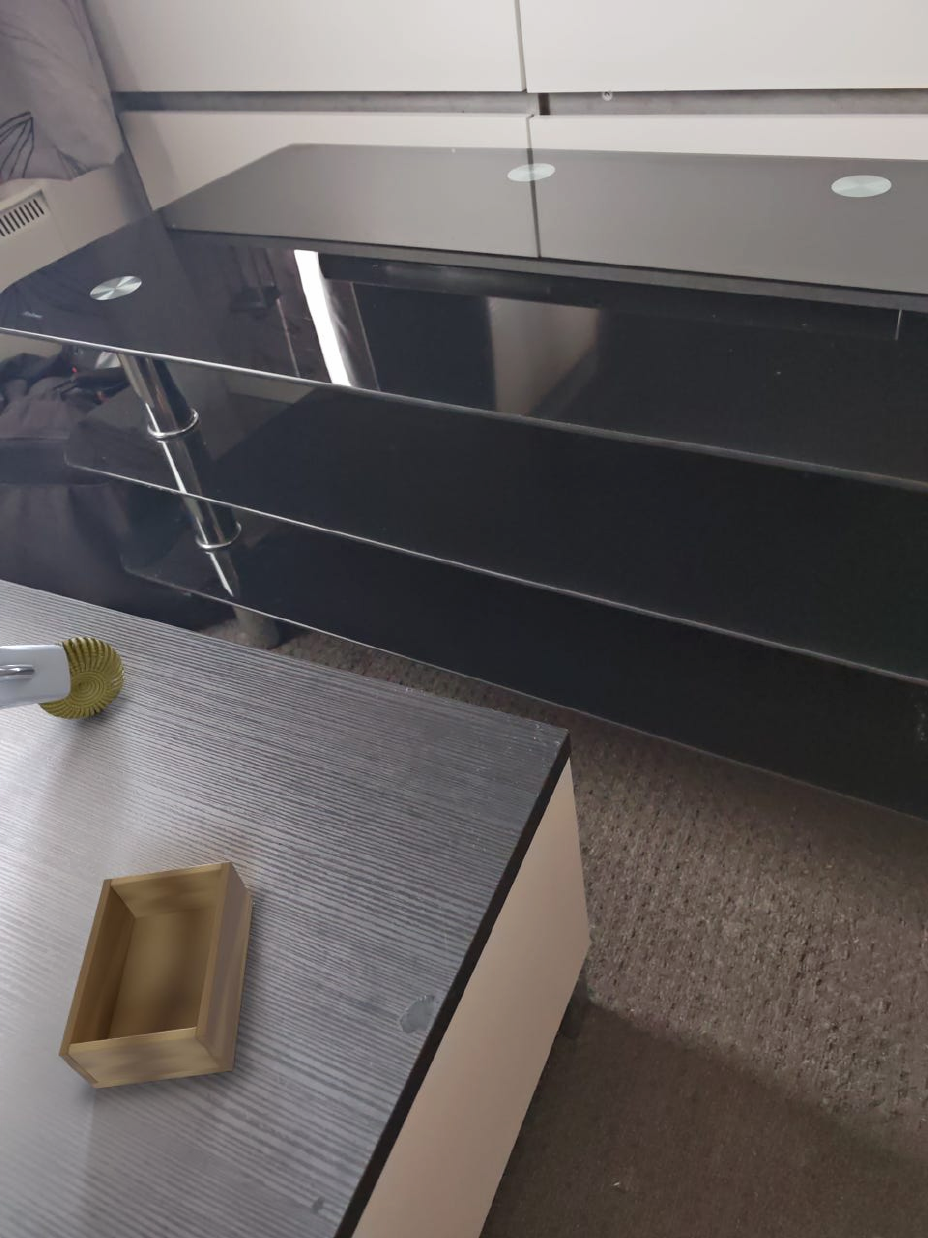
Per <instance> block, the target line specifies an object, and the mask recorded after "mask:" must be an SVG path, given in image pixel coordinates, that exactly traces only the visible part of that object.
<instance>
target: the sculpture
mask: <svg viewBox="0 0 928 1238" xmlns="http://www.w3.org/2000/svg"><path fill="white" fill-rule="evenodd" d="M61 644H62V646H61ZM61 644H60V643H59V642H57V643H55V644H54V645H56V646H60V647H62V648H63V649H64V650H65V653H66V656H67V660H68V665H69V672H70V693H69V695H68V696H67V697H65V698H63V699H60V700H57V701H51V702H44V703H38V704H37V705H38V706H39V707H40V708H41V709H42V710H43V711H45V712H46V713H47V714H49V715H52V716H53V717H56V718H60V719H63V720H66V719H67V720H74V719H75V720H81V719H82V718H83V719H86V718H88V717H89V716H90V717H91V716H94V715H95V712H96V713H97V714H98V713H101V709H102V710H105V709H106V708H107V707H108V706H110V705H111V704H112V703H113V701H115V699H116V698H117V697H118V696H119V694H120V692H121V690H122V688H123V684H124V680H125V668H124V663H123V661H122V658H121V655H119V653H118V652H117V651H116V650H115V648H113V647H112V646H111V645H110V644H108V643H106V642H104V641H103V640H100V639H97V638H94V637H93V638H91V637H86V636H85V637H82V636H77V637H75V638H74V637H71V638H68V640H67V639H65V640H61Z"/></svg>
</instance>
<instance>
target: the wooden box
mask: <svg viewBox="0 0 928 1238" xmlns="http://www.w3.org/2000/svg"><path fill="white" fill-rule="evenodd" d="M253 905H254V899H253V898H252V896H251V894H250V892H249V891H248V888H247V887H246V885H245V884H244V881H243V880H242V878H241V876H240V875H239V873H238V871H237V870H236V868H235V866H234V864H233V863H232V861H231V860H227V861H223V862H216V863H215V862H214V863H207V864H200V865H193V866H187V867H181V868H173V869H167V870H160V871H153V872H146V873H139V874H131V875H125V876H119V877H113V878H105V879H103V882H102V886H101V891H100V894H99V898H98V902H97V906H96V910H95V913H94V917H93V922H92V925H91V929H90V932H89V936H88V940H87V944H86V948H85V951H84V956H83V959H82V963H81V967H80V971H79V975H78V978H77V981H76V986H75V990H74V994H73V998H72V1002H71V1005H70V1009H69V1012H68V1016H67V1020H66V1024H65V1028H64V1031H63V1034H62V1035H63V1036H62V1040H61V1043H60V1048H59V1050H58V1056H59V1058H60V1059H62V1060H63V1061H64V1062H65V1063H66V1064H67V1065H68V1066H69V1067H70V1068H71V1069H73V1070H74V1071H75V1072H76V1073H77V1074H78V1075H79V1076H80V1077H81V1078H82V1079H83V1080H85V1082H86V1083H88V1084H89V1086H91V1087H92V1088H93V1089H94V1090H96V1089H97V1090H98V1089H102V1088H110V1087H118V1086H119V1087H120V1086H125V1085H132V1084H133V1085H134V1084H141V1083H149V1082H157V1081H163V1080H172V1079H178V1078H187V1077H193V1076H194V1077H195V1076H199V1075H200V1076H203V1075H209V1074H216V1073H224V1072H231V1071H233V1070H234V1064H235V1056H236V1047H237V1046H236V1045H237V1039H238V1033H239V1032H238V1031H239V1023H240V1022H239V1021H240V1014H241V1006H242V997H243V990H244V981H245V974H246V973H245V972H246V965H247V964H246V963H247V957H248V956H247V955H248V947H249V940H250V931H251V923H252V916H253V915H252V914H253V913H252V912H253V908H254V906H253Z"/></svg>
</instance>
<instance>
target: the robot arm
mask: <svg viewBox="0 0 928 1238" xmlns="http://www.w3.org/2000/svg"><path fill="white" fill-rule="evenodd" d="M60 646H61V645H60ZM60 646H56V645H55V644H44V645H43V644H41V645H40V644H38V645H37V644H33V645H32V644H31V645H27V644H26V645H1V646H0V710H5V709H11V708H19V707H25V706H31V705H39V704H38V703H44V702H51V701H57V700H60V699H63V698H65V697H67V696H68V695H69V693H70V672H69V665H68V660H67V656H66V653H65V650H64V648H63V646H61V647H60Z"/></svg>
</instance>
